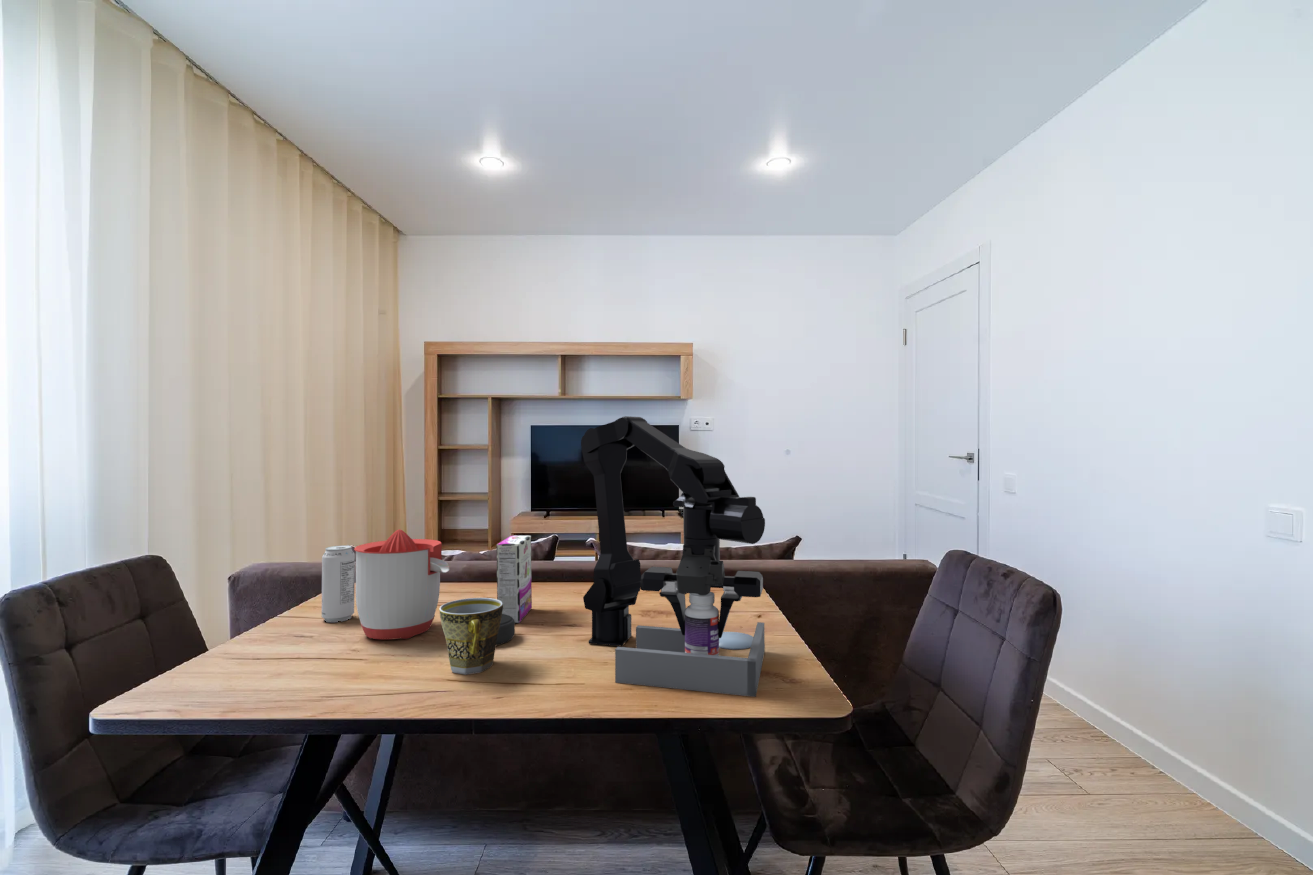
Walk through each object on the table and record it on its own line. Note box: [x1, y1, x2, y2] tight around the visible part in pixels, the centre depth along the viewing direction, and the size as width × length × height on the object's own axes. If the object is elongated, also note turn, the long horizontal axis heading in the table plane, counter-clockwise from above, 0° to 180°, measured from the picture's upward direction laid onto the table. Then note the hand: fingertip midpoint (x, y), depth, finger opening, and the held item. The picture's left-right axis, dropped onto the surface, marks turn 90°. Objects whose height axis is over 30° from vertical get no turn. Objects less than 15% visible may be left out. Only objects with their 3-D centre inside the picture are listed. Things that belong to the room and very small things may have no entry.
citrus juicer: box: [353, 528, 450, 640], centre depth 113 cm, size 16×17×20 cm
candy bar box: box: [496, 534, 533, 624], centre depth 123 cm, size 11×5×16 cm, turn 179°
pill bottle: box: [685, 591, 720, 656], centre depth 91 cm, size 5×5×10 cm
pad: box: [719, 631, 754, 651], centre depth 107 cm, size 9×9×1 cm
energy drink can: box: [321, 545, 356, 623], centre depth 121 cm, size 6×6×15 cm
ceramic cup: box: [438, 597, 503, 676], centre depth 93 cm, size 13×10×10 cm
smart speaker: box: [496, 614, 516, 646], centre depth 108 cm, size 9×9×4 cm
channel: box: [614, 621, 766, 698], centre depth 95 cm, size 21×19×5 cm
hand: (702, 635), depth 91 cm, fingers closed on pill bottle, 5 cm apart
